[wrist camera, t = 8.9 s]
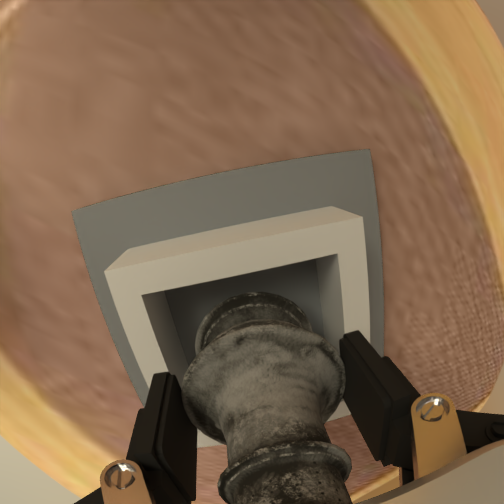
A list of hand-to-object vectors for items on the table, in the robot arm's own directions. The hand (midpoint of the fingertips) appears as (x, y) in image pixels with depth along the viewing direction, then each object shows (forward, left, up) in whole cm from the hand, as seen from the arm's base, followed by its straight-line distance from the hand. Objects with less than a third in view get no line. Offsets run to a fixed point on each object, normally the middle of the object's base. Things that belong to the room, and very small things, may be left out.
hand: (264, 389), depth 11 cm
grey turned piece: (0, 0, -3) cm, 3 cm away
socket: (0, 0, -7) cm, 7 cm away
